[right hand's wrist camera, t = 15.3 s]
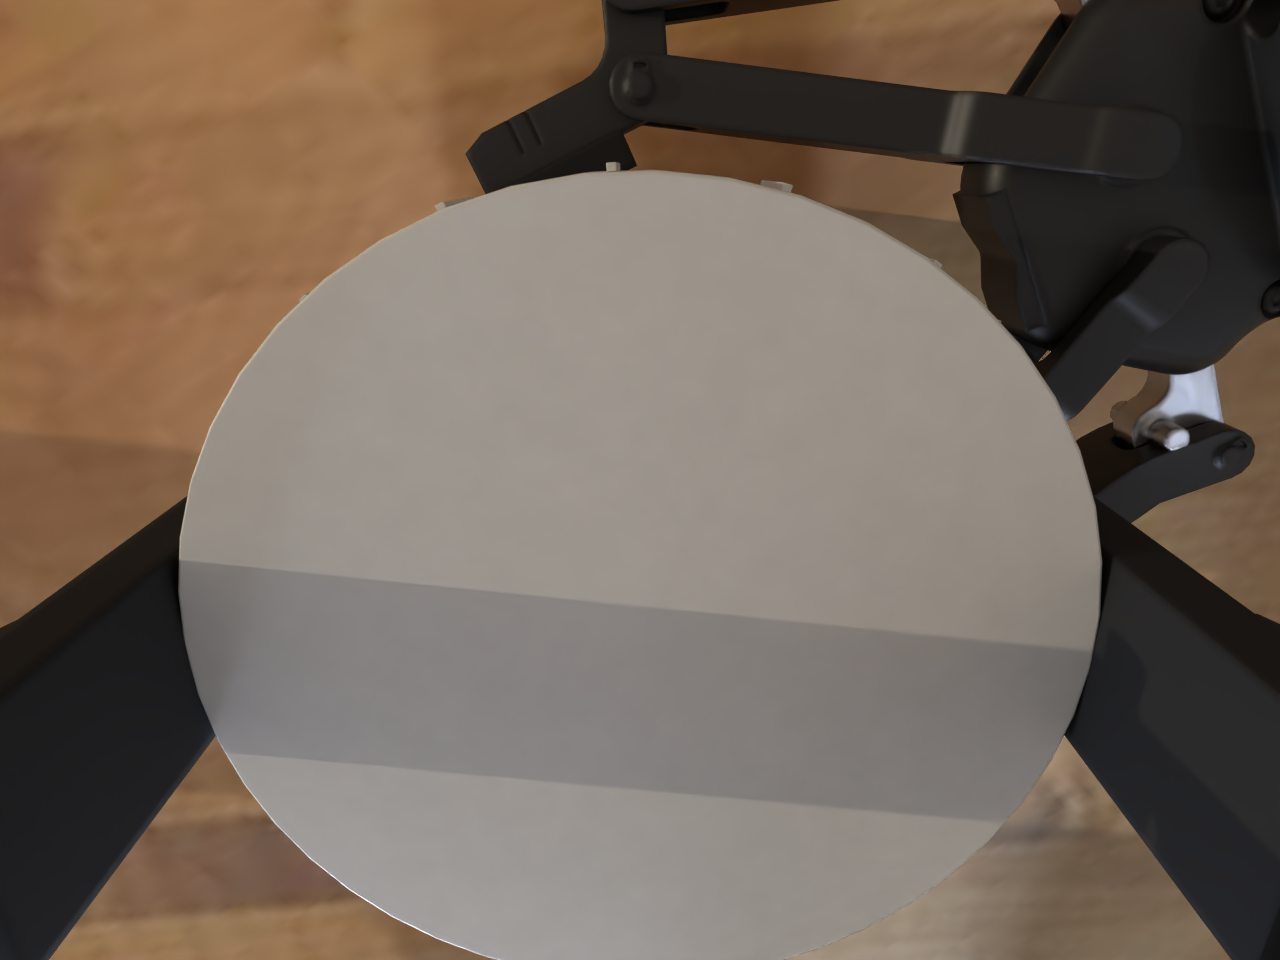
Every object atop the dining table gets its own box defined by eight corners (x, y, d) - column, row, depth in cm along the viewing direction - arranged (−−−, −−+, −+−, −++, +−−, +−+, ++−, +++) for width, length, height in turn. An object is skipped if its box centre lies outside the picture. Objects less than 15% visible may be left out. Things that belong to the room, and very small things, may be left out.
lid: (1106, 178, 10) (1230, 181, 8) (955, 868, 14) (1010, 991, 12) (200, 149, 10) (82, 145, 8) (307, 854, 14) (247, 975, 12)
